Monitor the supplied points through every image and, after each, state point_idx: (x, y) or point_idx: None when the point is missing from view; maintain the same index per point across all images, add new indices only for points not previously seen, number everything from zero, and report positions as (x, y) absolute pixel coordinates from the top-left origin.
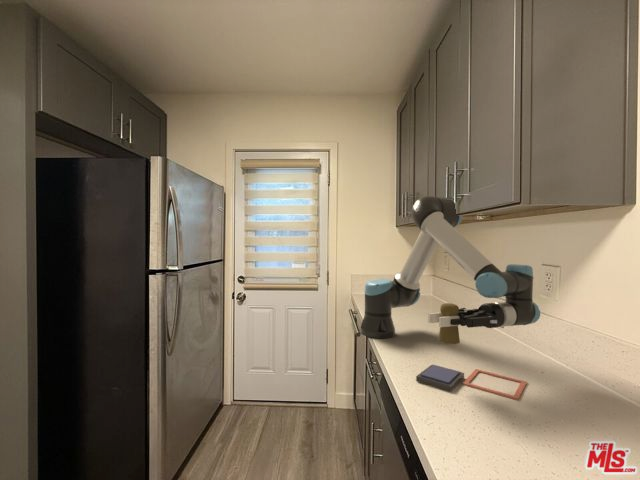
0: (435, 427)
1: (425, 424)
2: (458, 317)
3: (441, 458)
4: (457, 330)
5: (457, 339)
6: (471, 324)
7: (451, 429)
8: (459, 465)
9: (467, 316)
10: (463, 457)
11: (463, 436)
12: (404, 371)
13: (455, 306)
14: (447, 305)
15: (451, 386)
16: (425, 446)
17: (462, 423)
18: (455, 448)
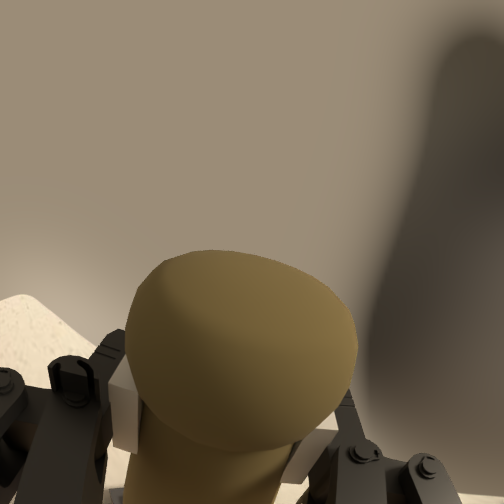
0: (58, 349)
1: (74, 347)
2: (112, 384)
3: (29, 306)
4: (130, 471)
5: (124, 490)
6: (12, 477)
7: (35, 356)
8: (10, 306)
9: (43, 459)
10: (7, 317)
11: (14, 350)
12: (302, 492)
13: (157, 270)
14: (224, 251)
15: (110, 494)
16: (52, 313)
17: (24, 380)
18: (19, 325)
